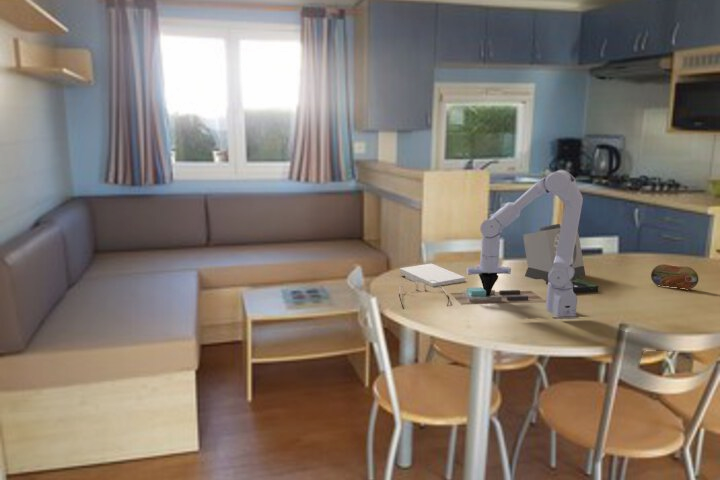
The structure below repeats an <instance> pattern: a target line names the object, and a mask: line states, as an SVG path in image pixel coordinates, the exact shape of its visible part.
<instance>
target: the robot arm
mask: <svg viewBox="0 0 720 480" xmlns="http://www.w3.org/2000/svg"><path fill="white" fill-rule="evenodd" d="M548 193H551V194H553V195H554V196H556V197H558V199H559V200H561V202H562V203H563V204H564V207H563V208H564V209H563V211H562V212H563V213H562V220H561V224H560V227H561V230H560V236H559V241H558V247H557V253H556V257H555V260H554V263H553V267H552V269H551V270H550V272H549V273H548V280H549V282H548V285H547V291H546V300H545V301H546V302H545V310H546V311H547V312H549V313H551V314H553V315H554V316H556V317H554V316H553V317H552V319H554V320H562V319H563V320H564V319H567V320H568V319H579V316H577V315H576V314H577V308H578V307H577V305H578V295H577V294H575V293H574V292H573V284H572V282H571V281H570V280H571V279H572V278H573V276H574V273H575V271H574V268H573V253H574V247H575V242H576V236H577V230H578V231H579V223H580V220H581V219H580V218H581V213H582V207H583V200H584V198H583V195H582V193H581V190H580V189H579V186H578V184H577V181H576V178H575V177H574V176H573V175H572V173H570V172H569V171H567V170H565V169H558V170H555V171H554V172H553V171H552V172H550V173H549V174H548V175H547V176H544V177H543V178H541V179H540V180H538V181H537V182H535V183H534V184H533V185H532V186H531V187H529V188H528V190H526V191H525V192H524V193H523V194H522V195H521V196H519V197H518V198H517V199H516V200H515V201H514V202H509V201H508V202H504V203H502V204H501V205H500V208H499V209H497V211H496V212H494V213H491V214H489V218H488V219H484V220H483V222H482V223H481V224H480V233H481V234H482V235H481V243H480V244H481V246H480V247H481V249H480V258H479V259H480V261H479V262H480V263H479V266H472V267H471V266H470V267H466V274H467V275H468V276H470V275H478V276H479V280H480V281H481V285H482V288H483V289H484V290H486V296H490V293H491V290H493V288H494V285H495V283H496V282H497V281H498V279H499V275H501V274H504V275H505V274H507V275H511V272H512V268H511V267H509V266H499V259H500V258H499V257H500V244H501V243H500V242H501V241H500V239H501V233H502V232H503V230H504V229H506V228H508V226H510V225H511V224H512V223H513V222H515V221H516V220H517V219H518V218H519V217H520V216H521V212H522V210H523V209H524V208H525V207H526V206H528V205H529V204H531V202H533V201H534V200H535V199H537V198H538V197H539V196H541V195H546V194H548ZM498 274H499V275H498Z"/></svg>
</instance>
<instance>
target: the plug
mask: <svg viewBox="0 0 720 480" xmlns="http://www.w3.org/2000/svg"><path fill="white" fill-rule="evenodd" d="M466 291H467V292H468V293H469V294H470V295H471V296H486V290H484V289H483V286H482V287H479V286H478V287H467V289H466Z"/></svg>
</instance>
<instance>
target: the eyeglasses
mask: <svg viewBox="0 0 720 480" xmlns="http://www.w3.org/2000/svg"><path fill="white" fill-rule="evenodd" d="M406 281H411V279H406V280H405V282H406ZM430 281H432V280H430ZM433 281H435V280H433ZM405 282H403V283H402V284H400V285H399V288H402V290H403V291H405V289H404V284H405ZM413 282H414V284H415V287H416V288H415V289H414V290H415V291H417V290H418V289H419V284H420V283H422V284H423V290H424V291H427V289H426V288H427V283H428V282H429V281H428V282H427V283H426V284H425V283H423V282H415V281H413ZM436 282H437V281H436ZM437 283H438V282H437ZM438 284H439V283H438ZM440 289H442V290H443V292H444V293H445V295H446V297H447V298H448V299H447V300H448V301H447V304H446V307H449V303H450V296H449V294H447V291H446V290H445V289H444V287H443V286H442V285H440V286H438V291H439V290H440ZM438 291H437V292H438ZM398 292H399V294H398V297H399V301H400V303H401V307H402V309H403V310H405V306H404V305H403V302H402V299H401V298H402V297H401V291H398ZM405 293H408V292H407V291H405ZM412 293H413V292H411V294H412Z"/></svg>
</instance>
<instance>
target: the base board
mask: <svg viewBox="0 0 720 480" xmlns="http://www.w3.org/2000/svg"><path fill="white" fill-rule="evenodd" d="M450 295H451V296H452V297H453V298H454V299H455V300H456V301H457V302H458V303H459V304H461V305H462V306H463V305H488V304H490V305H492V304H495V305H496V304H524V303H525V304H528V303H529V304H531V303H546V301H547V300H545V299H543V298H542V297H541V296H539V295H538V294H537V293H535V292H534V291H532V290H520V294H513V295H501V296H502V301H477V302H469V301H468V300H467V299H466V298H465V297H464V296H463V295H462V292H450ZM499 295H500V294H499V291H495V295H490V296H499ZM507 296H528V300H512V301H508V300H507ZM461 305H460V306H461Z"/></svg>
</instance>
